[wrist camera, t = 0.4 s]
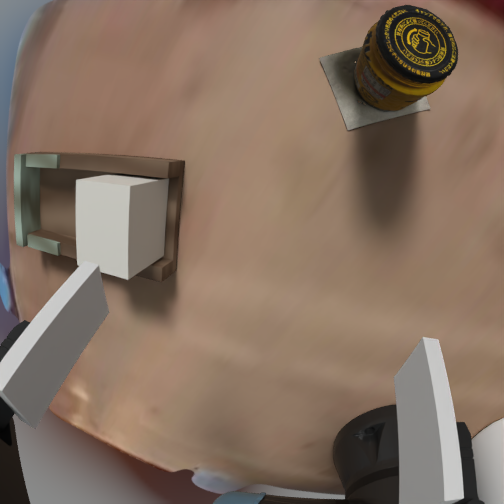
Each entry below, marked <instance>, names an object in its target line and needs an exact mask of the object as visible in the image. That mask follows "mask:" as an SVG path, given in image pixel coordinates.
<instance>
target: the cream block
mask: <svg viewBox="0 0 504 504" xmlns="http://www.w3.org/2000/svg"><path fill="white" fill-rule="evenodd" d="M168 186H169V178H159V177H151V176H142V175H133V174H123V173H115V174H109V175H102V176H96V177H90V178H84V179H78V180H76V249H77V265H79V266H80V265H81V264H82V263H83V262H84V261H87V262H91V263H94V264H98V265H99V268H100V272H102V273H106V274H109V275H113V276H117V277H120V278H124V279H127V280H129V279H130V278H132V277H133V276H135V275H136V274H137V273H139V272H140V271H142V270H143V269H145V268H146V267H148V266H149V265H151V264H152V263H154V262H155V261H157V260H158V259H160V258H161V257H163V256H164V246H165V228H166V212H167V199H168Z"/></svg>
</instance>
